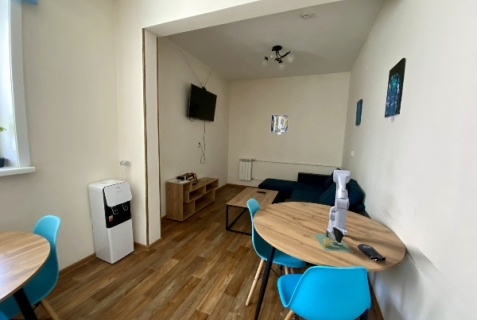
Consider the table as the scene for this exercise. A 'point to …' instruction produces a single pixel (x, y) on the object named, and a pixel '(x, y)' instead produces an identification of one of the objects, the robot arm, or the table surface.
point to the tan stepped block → (327, 242)
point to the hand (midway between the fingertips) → (338, 240)
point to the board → (332, 247)
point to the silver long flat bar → (334, 238)
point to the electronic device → (370, 252)
